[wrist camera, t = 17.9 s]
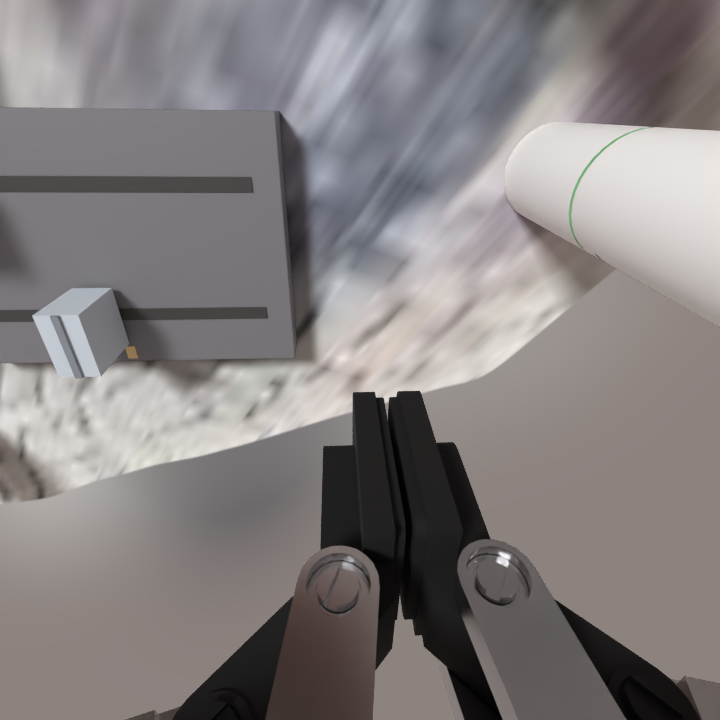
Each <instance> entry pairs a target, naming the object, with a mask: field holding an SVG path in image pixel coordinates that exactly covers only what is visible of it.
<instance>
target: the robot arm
mask: <svg viewBox="0 0 720 720" xmlns="http://www.w3.org/2000/svg"><path fill="white" fill-rule="evenodd" d="M399 595H400V597H401V605H402V612H403V617H404V619H412V620H413V626H414V632H415V635H422V637H423V643H424V647H425V648H426V649H428V650H429V651H430V652H431V653H432V654H433V655H434V656H436V657H437V658H438V663H439V668H440V672H441V675H442V678H443V681H444V684H445V688H446V691H447V693H448V697H449V700H450V703H451V706H452V709H453V712H454V716H455V719H456V720H720V683H716V682H711V681H706V680H701V679H696V678H691V677H687V676H684V677H683V678H682V679H681V680H680V681H679V680H674V679H670V678H668V677H667V676H666V675H665V674H663V673H662V672H661V671H660V670H658V669H657V668H656V667H654V666H653V665H651V664H650V663H648V662H647V661H645V660H644V659H642V658H641V657H639V656H638V655H636V654H635V653H633V652H632V651H630V650H629V649H627V648H626V647H624V646H623V645H622V644H620V643H619V642H617V641H615V640H614V639H613V638H611V637H610V636H608V635H607V634H605V633H604V632H602V631H601V630H599V629H598V628H596V627H595V626H593V625H592V624H590V623H589V622H587V621H586V620H584V619H583V618H581V617H580V616H578V615H577V614H575V613H574V612H572V611H571V610H569V609H568V608H567V607H565V606H563V605H562V604H561V603H559V602H558V601H556V600H555V599H554V598H553V597H552V595H551V593H550V592H549V590H548V588H547V587H546V585H545V583H544V582H543V580H542V578H541V577H540V575H539V573H538V572H537V570H536V568H535V567H534V566H533V564H532V563H531V562H530V560H529V559H528V558H527V557H526V556H525V555H524V554H523V553H522V552H520V551H519V550H518V549H517V548H515V547H512V546H511V545H509V544H507V543H505V542H502V541H497V540H493V539H490V537H489V534H488V532H487V529H486V526H485V523H484V520H483V518H482V515H481V512H480V509H479V507H478V504H477V501H476V499H475V496H474V493H473V490H472V488H471V485H470V482H469V479H468V477H467V474H466V471H465V468H464V466H463V463H462V460H461V457H460V455H459V452H458V450H457V447H456V445H455V444H454V443H453V442H450V443H449V442H448V443H436V440H435V437H434V434H433V431H432V427H431V424H430V421H429V418H428V415H427V411H426V408H425V405H424V402H423V398H422V395H421V392H420V391H398V392H397V397H390V398H389V409H388V421H387V415H386V409H385V404H384V398H376V396H375V392H353V445H350V446H324V448H323V479H322V515H321V550H319V551H318V552H317V553H315V554H314V555H313V556H311V557H310V558H309V559H308V560H307V562H306V563H305V564H304V565H303V567H302V569H301V571H300V574H299V576H298V579H297V583H296V588H295V592H294V596H293V597H292V598H291V599H290V600H289V601H288V602H287V603H285V605H283V606H282V607H281V608H280V609H279V610H278V611H277V612H276V613H275V614H274V615H273V616H272V617H271V618H270V619H269V620H268V621H267V622H266V623H265V624H264V625H263V626H262V627H261V628H260V629H259V630H258V631H257V632H256V633H255V634H254V635H253V636H251V637H250V638H249V639H248V640H247V641H246V642H245V643H244V644H243V645H242V646H241V647H240V648H239V649H238V650H237V651H236V652H235V653H234V654H233V655H232V656H231V657H230V658H229V659H228V660H227V661H226V662H225V663H224V664H223V665H222V666H221V667H220V668H219V669H218V670H216V671H215V672H214V673H213V674H212V675H211V676H210V677H209V678H208V679H207V680H206V681H205V682H204V683H203V684H202V685H201V686H200V687H199V688H198V689H197V690H196V691H195V692H194V693H193V694H192V695H191V696H190V697H189V698H188V699H187V700H186V701H185V703H184V704H183V705H182V706H180V707H177V708H174V709H171V710H168V711H165V712H162V713H159V714H158V713H157V712H156V710H152V711H149V712H146V713H143V714H140V715H137V716H134V717H132V718H128V719H125V720H373V703H374V685H375V684H374V683H375V670H376V669H377V668H378V666H379V665H380V664H381V662H382V661H383V660H384V658H385V657H386V656H387V654H388V653H389V652H390V650H391V649H392V643H393V634H394V624H395V620H397V613H398V604H399Z"/></svg>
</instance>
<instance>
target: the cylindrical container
mask: <svg viewBox="0 0 720 720" xmlns="http://www.w3.org/2000/svg"><path fill="white" fill-rule="evenodd" d="M504 189H505V193H506V197H507V199H508V201H509V203H510V205H511V206H512V207H513V209H514V210H515V211H516V212H518V213H519V214H520V215H522V216H524V217H526V218H527V219H529V220H531V221H533V222H535V223H536V224H538V225H540V226H542V227H543V228H545V229H547V230H549V231H550V232H552V233H554V234H556V235H558V236H559V237H561V238H563V239H565V240H566V241H568V242H570V243H572V244H573V245H575V246H577V247H579V248H581V249H582V250H584V251H586V252H588V253H589V254H591V255H593V256H595V257H597V258H598V259H600V260H602V261H604V262H606V263H607V264H609V265H611V266H612V267H614V268H616V269H618V270H620V271H622V272H623V273H625V274H627V275H628V276H630V277H632V278H634V279H636V280H637V281H639V282H641V283H643V284H644V285H646V286H648V287H650V288H651V289H653V290H655V291H657V292H659V293H660V294H662V295H664V296H666V297H667V298H669V299H671V300H673V301H674V302H676V303H678V304H680V305H681V306H683V307H685V308H687V309H689V310H690V311H692V312H694V313H696V314H697V315H699V316H701V317H703V318H705V319H706V320H708V321H710V322H712V323H713V324H715V325H717V326H719V327H720V131H713V130H695V129H678V128H660V127H643V126H626V125H609V124H593V123H576V122H552V123H548V124H544V125H542V126H540V127H538V128H536V129H534V130H533V131H532V132H530V133H529V134H527V135H526V136H525V137H524V138H523V139H522V140H521V141H520V142H519V144H518V145H517V146H516V148H515V149H514V150H513V152H512V154H511V156H510V158H509V160H508V163H507V166H506V169H505V176H504Z"/></svg>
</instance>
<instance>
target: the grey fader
mask: <svg viewBox="0 0 720 720" xmlns="http://www.w3.org/2000/svg"><path fill="white" fill-rule="evenodd" d="M32 317H33V319H34V321H35V324H36V326H37V328H38V330H39V333H40V335H41V337H42V339H43V342H44V344H45V346H46V348H47V351H48V353H49V355H50V358H51V360H52V362H53V364H54V367H55V369H56V371H57V373H58V376H59V377H75V378H83V377H95V376H102V375H103V374H104V372H105V371H106V370H107V369H108V368H109V367H110V365H111V364H112V363H113V362H114V361H115V360H116V359H117V357H118V356H119V355H120V354H121V353H122V352H123V350H124V349H125V348H126V347H127V346H128V345H129V341H128V338H127V335H126V332H125V328H124V325H123V322H122V319H121V316H120V313H119V310H118V306H117V303H116V300H115V297H114V294H113V291H112V288H72V289H70V290H69V291H67V292H66V293H64V294H63V295H61V296H60V297H58V298H57V299H56V300H54V301H53V302H51V303H50V304H48V305H47V306H45V307H44V308H42V309H41V310H40V311H38V312H37V313H35V314H34V315H32Z"/></svg>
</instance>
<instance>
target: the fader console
mask: <svg viewBox="0 0 720 720" xmlns="http://www.w3.org/2000/svg"><path fill="white" fill-rule="evenodd" d="M72 288H112V291H113V294H114V297H115V300H116V303H117V306H118V310H119V313H120V316H121V319H122V322H123V325H124V328H125V332H126V335H127V338H128V341H129V345H128V346H127V347H126V348H125V349H124V350H123V352H122V353H121V354H120V355H119V356H118V357H117V359H116V360H115V361H152V360H206V359H259V358H295V352H296V345H297V335H296V322H295V309H294V296H293V283H292V270H291V257H290V244H289V231H288V218H287V205H286V192H285V179H284V166H283V153H282V140H281V127H280V114H279V111H230V110H156V109H82V108H8V107H0V363H44V362H52V360H51V358H50V355H49V353H48V351H47V348H46V346H45V344H44V342H43V339H42V337H41V335H40V333H39V330H38V328H37V326H36V324H35V321H34V319H33V317H32V315H34V314H35V313H37V312H38V311H40V310H41V309H42V308H44V307H45V306H47V305H48V304H50V303H51V302H53V301H54V300H56V299H57V298H58V297H60V296H61V295H63V294H64V293H66V292H67V291H69V290H70V289H72Z"/></svg>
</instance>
